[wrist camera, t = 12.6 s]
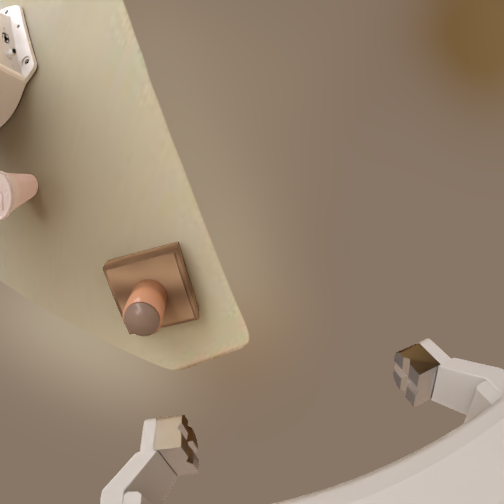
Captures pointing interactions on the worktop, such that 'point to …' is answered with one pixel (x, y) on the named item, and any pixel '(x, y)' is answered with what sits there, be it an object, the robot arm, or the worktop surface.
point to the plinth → (159, 269)
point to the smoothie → (15, 191)
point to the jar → (145, 307)
